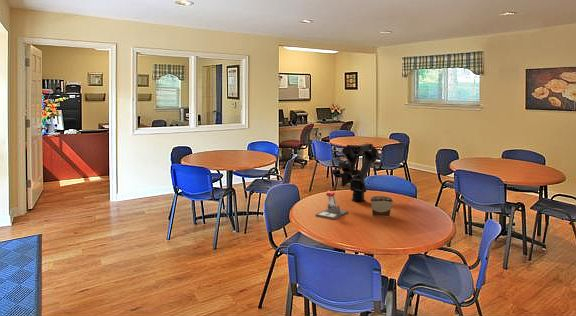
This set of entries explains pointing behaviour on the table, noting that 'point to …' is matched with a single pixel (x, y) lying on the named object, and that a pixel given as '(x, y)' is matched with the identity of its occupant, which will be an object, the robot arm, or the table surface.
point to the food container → (381, 205)
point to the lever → (331, 199)
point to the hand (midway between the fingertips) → (342, 186)
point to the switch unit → (331, 213)
